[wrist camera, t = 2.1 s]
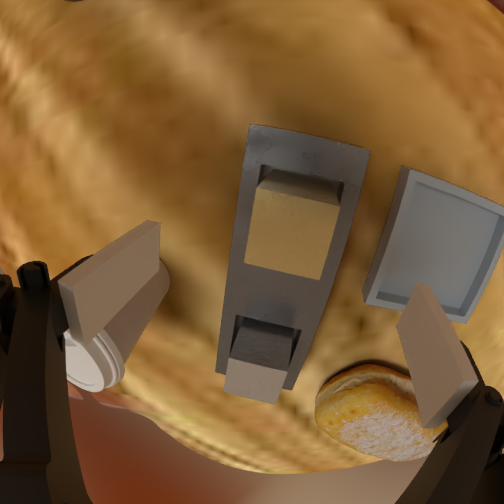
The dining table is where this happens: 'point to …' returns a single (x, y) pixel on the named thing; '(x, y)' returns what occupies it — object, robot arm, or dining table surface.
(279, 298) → the grey slotted holder
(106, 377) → the coffee cup
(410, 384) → the bread
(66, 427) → the robot arm
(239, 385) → the grey rectangular block
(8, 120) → the dining table surface
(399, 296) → the parts tray
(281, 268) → the tan rectangular block
